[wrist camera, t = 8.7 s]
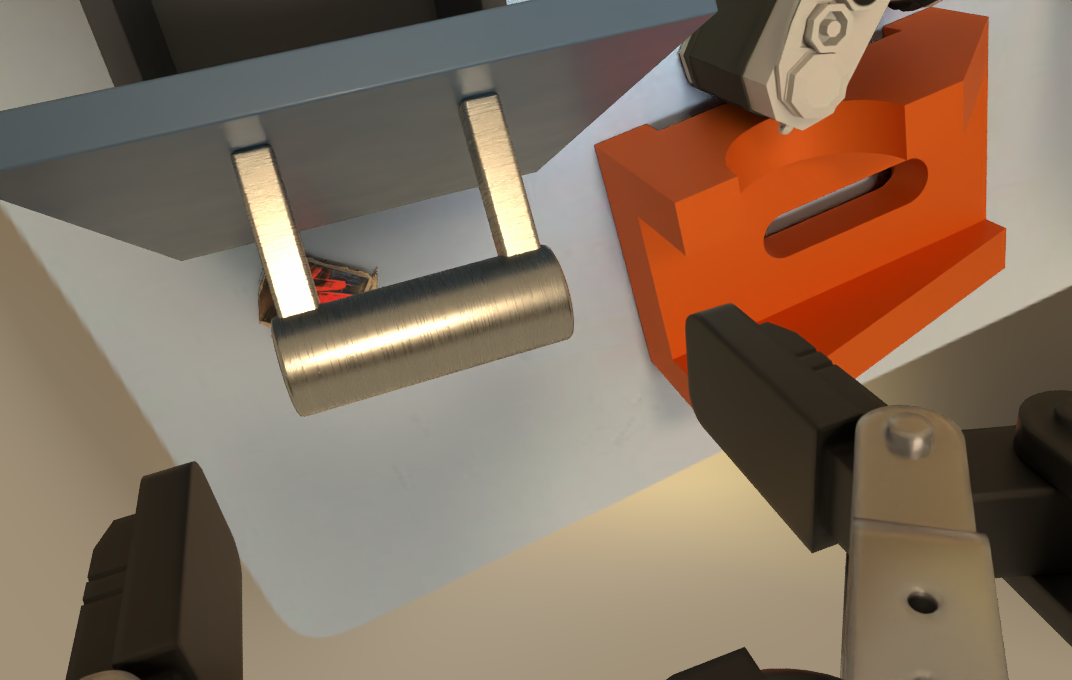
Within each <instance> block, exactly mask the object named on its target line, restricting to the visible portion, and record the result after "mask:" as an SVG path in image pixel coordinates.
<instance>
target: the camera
mask: <svg viewBox="0 0 1072 680" xmlns="http://www.w3.org/2000/svg"><path fill="white" fill-rule="evenodd" d="M940 1H942V0H716V4H717V8H718V11H717V12H716V13H715V14H714V15H713V16H712V17H711V18H710V19H708V20H707V21H706V22H705V23H704V24H703V25H702V26H701V27H699V28H698V29H697V30H696V31H695V32H694V33H693V34H692V35H690V36H689V37H688V38H687V39H686V40H685V41H684V42H683V45H682V47H681V49H680V52H679V54H680V57H681V60H682V63H683V66H684V69H685V72H686V75H687V78H688V81H689V82H691V83H693V86H694V87H695V88H697V89H700V90H702V91H704V92H707V93H709V94H711V95H714V96H716V97H718V98H720V99H723V100H725V101H727V102H730V103H732V104H734V105H736V106H739V107H741V108H743V109H746V110H748V111H750V112H752V113H755V114H757V115H760V116H763V117H767V118H770V119H773V120H776V121H779V129H778V131H779V133H781V134H783V135H788V134H789V133H790V132H791V131H792V130H793V127H794V128H797V129H800V130H805V129H806V128H808V127H810V126H812V125H813V124H815V123H817V122H819V121H820V120H822V119H824V118H825V117H827V116H829V115H831V114H832V113H834V111H835V109H836V107H837V105H838V104H839V103H840V102H841V101H842V100H843V99H844V98H845V94H846V88H847V85H848V83H849V81H850V79H851V77H852V75H853V73H854V71H855V69H856V67H857V65H858V63H859V61H860V59H861V57H862V55H863V53H864V51H865V49H866V47H867V45H868V43H869V41H870V39H871V37H872V35H873V33H874V31H875V29H876V27H877V25H878V24H879V22H880V20H881V18H882V16H883V14H884V12H885V10H886V8H887V6H888V7H889V8H891V9H893V10H898V9H899V10H901V11H903V12H904V11H914V10H916V9H919V8H922V7H931V6H933V5H935V4H936V3H938V2H940Z"/></svg>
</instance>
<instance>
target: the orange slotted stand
mask: <svg viewBox="0 0 1072 680" xmlns="http://www.w3.org/2000/svg"><path fill="white" fill-rule="evenodd" d="M988 23H989V17H987V16H981V15H975V14H969V13H963V12H957V11H951V10H946V9H940V8H934V7H930V8H927V9H925V10H922V11H920V12H917V13H915V14H913V15H910V16H908V17H905V18H903V19H900V20H898V21H895V22H893V23H891V24H888V25H886V26H883V33H884V38H883V39H880V40H878V41H875V42H873V43H871V44H868V45H867V47H866V49H865V51H864V53H863V55H862V57H861V59H860V61H859V63H858V65H857V67H856V69H855V71H854V73H853V75H852V77H851V79H850V81H849V83H848V85H847V88H846V94H845V98H844V99H843V100H842V101H841V102H840V103H839V104H838V105H837V107H836V109H835V111H834V113H832V114H831V115H829V116H827V117H825V118H824V119H822V120H820V121H819V122H817V123H815V124H813V125H812V126H810V127H808V128H806V129H805V130H800V129H797V128H794V127H793V130H792V131H791V132H790V133H789V134H788V135H783V134H781V133H779V131H778V129H779V121H776V120H773V119H770V118H767V117H763V116H760V115H757V114H755V113H752V112H750V111H748V110H746V109H743V108H741V107H739V106H736V105H734V104H732V103H730V102H727V103H725V104H723V105H720V106H718V107H715V108H713V109H710V110H708V111H706V112H703V113H701V114H698V115H696V116H694V117H691V118H689V119H686V120H684V121H681V122H679V123H677V124H674V125H672V126H669V127H667V128H664V129H662V130H660V131H658V130H656V129H655V128H653V127H651V126H649V125H648V124H645V125H642V126H640V127H637V128H635V129H632V130H630V131H628V132H625V133H623V134H620V135H618V136H615V137H613V138H611V139H608V140H606V141H603V142H601V143H598V144H596V145H594V146H595V150H596V153H597V157H598V161H599V165H600V169H601V172H602V176H603V180H604V184H605V187H606V191H607V195H608V199H609V203H610V206H611V210H612V214H613V218H614V222H615V225H616V229H617V233H618V237H619V241H620V244H621V248H622V252H623V256H624V259H625V263H626V267H627V271H628V275H629V278H630V282H631V286H632V290H633V294H634V297H635V301H636V305H637V309H638V313H639V316H640V320H641V324H642V328H643V331H644V335H645V339H646V343H647V347H648V350H649V354H650V358H651V361H652V362H653V364H654V365H655V366H656V367H657V368H658V369H659V370H660V372H661V373H662V374H663V375H664V376H665V377H666V378H667V380H668V381H669V382H670V383H671V384H672V385H673V386H674V388H675V389H676V390H677V391H678V392H679V393H680V394H681V396H682V397H683V398H684V399H685V400H686V401H687V402H688V404H689V405H690V406H691V407H692V404H691V400H690V396H689V387H688V370H687V353H686V335H685V323H686V319H687V317H688V316H689V315H691V314H694V313H697V312H701V311H704V310H707V309H711V308H714V307H717V306H721V305H724V304H727V303H732V304H734V305H736V306H737V307H738V308H740V309H741V310H742V311H743V312H744V313H745V314H747V315H748V316H749V317H750V318H751V319H753V320H754V321H755V322H756V323H757V324H762V323H765V322H770V323H773V324H775V325H778V326H781V327H783V328H786V329H789V330H791V331H794V332H796V333H798V334H799V335H800V336H801V337H803V338H804V339H805V340H806V341H808V342H809V343H810V344H811V345H813V346H814V347H815V348H816V351H817V352H819V351H820V352H822V353H823V354H824V355H825V356H827V357H828V358H829V359H830V360H832V363H833V365H835V364H837V365H838V366H839V367H840V368H842V369H843V370H844V371H845V372H847V373H848V374H849V375H850V376H852V377H853V378H854V379H855V378H857V377H858V376H859V375H861V374H862V373H863V372H865V371H866V370H867V369H869V368H870V367H871V366H873V365H874V364H875V363H877V362H878V361H880V360H881V359H882V358H884V357H885V356H886V355H888V354H889V353H890V352H892V351H893V350H894V349H896V348H897V347H898V346H900V345H901V344H902V343H904V342H905V341H907V340H908V339H909V338H911V337H912V336H913V335H915V334H916V333H917V332H919V331H920V330H921V329H923V328H924V327H925V326H927V325H928V324H930V323H931V322H932V321H934V320H935V319H936V318H938V317H939V316H940V315H942V314H943V313H944V312H946V311H947V310H948V309H950V308H951V307H953V306H954V305H955V304H957V303H958V302H959V301H961V300H962V299H963V298H965V297H966V296H967V295H969V294H970V293H971V292H973V291H974V290H976V289H977V288H978V287H980V286H981V285H982V284H984V283H985V282H986V281H988V280H989V279H990V278H992V277H993V276H994V275H996V274H997V273H998V272H1000V271H1001V270H1003V269H1004V268H1005V251H1006V228H1004V227H1002V226H1000V225H997V224H995V223H993V222H991V221H988V220H986V175H987V99H988ZM889 167H891V178H890V179H889V180H888V182H887V183H886V184H885V185H883V186H882V187H881V188H879V189H877V190H874V191H872V192H870V193H868V194H865V195H863V196H861V197H858V198H856V199H854V200H851V201H849V202H847V203H845V204H842V205H840V206H838V207H835V208H833V209H831V210H828V211H826V212H824V213H822V214H819V215H817V216H815V217H812V218H810V219H808V220H806V221H803V222H801V223H799V224H796V225H794V226H792V227H789V228H787V229H785V230H783V231H780V232H778V233H776V234H773V235H771V236H769V237H766V238H764V236H765V232H766V230H767V228H768V226H769V225H770V223H771V222H772V221H773V220H774V219H775V218H776V217H778V216H779V215H781V214H783V213H786V212H788V211H790V210H792V209H795V208H797V207H799V206H802V205H804V204H806V203H809V202H811V201H813V200H816V199H818V198H820V197H823V196H825V195H827V194H829V193H832V192H834V191H836V190H839V189H841V188H843V187H846V186H848V185H850V184H853V183H855V182H857V181H859V180H862V179H864V178H866V177H869V176H871V175H873V174H876V173H878V172H880V171H883V170H885V169H887V168H889ZM692 408H693V407H692Z"/></svg>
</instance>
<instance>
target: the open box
mask: <svg viewBox="0 0 1072 680" xmlns="http://www.w3.org/2000/svg"><path fill="white" fill-rule="evenodd" d="M80 3H81V5H82V8H83V10H84V13H85V15H86V18H87V20H88V22H89V25H90V27H91V30H92V32H93V35H94V37H95V40H96V42H97V45H98V47H99V50H100V52H101V55H102V57H103V59H104V62H105V64H106V67H107V69H108V72H109V74H110V77H111V79H112V82H113V84H114V87H118V86H123V85H128V84H133V83H137V82H142V81H147V80H152V79H157V78H161V77H166V76H171V75H176V74H180V73H185V72H190V71H195V70H200V69H204V68H209V67H214V66H219V65H223V64H228V63H233V62H238V61H243V60H247V59H252V58H257V57H262V56H266V55H271V54H276V53H281V52H286V51H290V50H295V49H300V48H305V47H309V46H314V45H319V44H324V43H329V42H333V41H338V40H343V39H348V38H352V37H357V36H362V35H367V34H372V33H376V32H381V31H386V30H391V29H395V28H400V27H405V26H410V25H415V24H419V23H424V22H429V21H434V20H438V19H443V18H448V17H453V16H458V15H462V14H467V13H472V12H477V11H481V10H486V9H491V8H496V7H501V6H505V5H507V4H506V0H80Z"/></svg>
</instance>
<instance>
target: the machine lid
mask: <svg viewBox="0 0 1072 680" xmlns="http://www.w3.org/2000/svg"><path fill="white" fill-rule="evenodd" d="M717 11H718V8H717V4H716V0H529V1H524V2H520V3H515V4H510V5H505V6H501V7H496V8H491V9H486V10H481V11H477V12H472V13H467V14H462V15H458V16H453V17H448V18H443V19H438V20H434V21H429V22H424V23H419V24H415V25H410V26H405V27H400V28H395V29H391V30H386V31H381V32H376V33H372V34H367V35H362V36H357V37H352V38H348V39H343V40H338V41H333V42H329V43H324V44H319V45H314V46H309V47H305V48H300V49H295V50H290V51H286V52H281V53H276V54H271V55H266V56H262V57H257V58H252V59H247V60H243V61H238V62H233V63H228V64H223V65H219V66H214V67H209V68H204V69H200V70H195V71H190V72H185V73H180V74H176V75H171V76H166V77H161V78H157V79H152V80H147V81H142V82H137V83H133V84H128V85H123V86H118V87H114V88H109V89H104V90H99V91H94V92H90V93H85V94H80V95H75V96H71V97H66V98H61V99H56V100H51V101H47V102H42V103H37V104H32V105H28V106H23V107H18V108H13V109H8V110H4V111H0V199H1V200H4V201H6V202H9V203H12V204H15V205H18V206H21V207H24V208H27V209H30V210H33V211H36V212H39V213H42V214H45V215H48V216H51V217H54V218H57V219H59V220H62V221H65V222H68V223H71V224H74V225H77V226H80V227H83V228H86V229H89V230H92V231H95V232H98V233H101V234H104V235H107V236H110V237H112V238H115V239H118V240H121V241H124V242H127V243H130V244H133V245H136V246H139V247H142V248H145V249H148V250H151V251H154V252H157V253H160V254H163V255H166V256H168V257H171V258H174V259H177V260H180V261H183V260H187V259H191V258H195V257H199V256H203V255H207V254H211V253H215V252H219V251H223V250H227V249H231V248H235V247H239V246H243V245H247V244H251V243H255V242H256V245H257V248H258V251H259V255H260V258H261V261H262V265H263V268H264V271H265V275H266V278H267V281H268V285H269V288H270V291H271V295H272V298H273V301H274V305H275V308H276V311H277V315H278V316H275V317H274V318H272V320H271V331H272V337H273V342H274V347H275V351H276V355H277V359H278V362H279V366H280V369H281V372H282V376H283V379H284V382H285V385H286V388H287V391H288V393H289V396H290V398H291V401H292V403H293V405H294V407H295V409H296V411H297V412H298V414H299V415H300V416H304V417H305V416H309V415H312V414H316V413H319V412H322V411H326V410H329V409H333V408H336V407H339V406H343V405H346V404H350V403H353V402H356V401H360V400H363V399H367V398H370V397H373V396H377V395H380V394H384V393H387V392H390V391H394V390H397V389H401V388H404V387H407V386H411V385H414V384H417V383H421V382H424V381H428V380H431V379H434V378H438V377H441V376H445V375H448V374H451V373H455V372H458V371H462V370H465V369H468V368H472V367H475V366H479V365H482V364H485V363H489V362H492V361H496V360H499V359H502V358H506V357H509V356H513V355H516V354H519V353H523V352H526V351H530V350H533V349H536V348H540V347H543V346H546V345H550V344H553V343H557V342H560V341H563V340H567V339H569V338H570V337H571V336H572V334H573V329H574V316H573V308H572V302H571V298H570V293H569V290H568V286H567V283H566V280H565V277H564V274H563V271H562V269H561V266H560V264H559V262H558V260H557V258H556V257H555V255H554V253H553V252H552V250H551V249H550V248H549V247H548V246H546V245H540V242H539V239H538V235H537V231H536V228H535V224H534V220H533V217H532V213H531V210H530V206H529V202H528V199H527V195H526V191H525V188H524V184H523V180H522V177H521V175H525V174H529V173H533V172H537V171H538V170H539V169H540V168H541V167H542V166H544V165H545V164H546V163H547V162H548V161H549V160H550V159H551V158H553V157H554V156H555V155H556V154H557V153H558V152H559V151H560V150H562V149H563V148H564V147H565V146H566V145H567V144H568V143H570V142H571V141H572V140H573V139H574V138H575V137H576V136H577V135H579V134H580V133H581V132H582V131H583V130H584V129H585V128H586V127H588V126H589V125H590V124H591V123H592V122H593V121H594V120H596V119H597V118H598V117H599V116H600V115H601V114H602V113H603V112H605V111H606V110H607V109H608V108H609V107H610V106H611V105H612V104H614V103H615V102H616V101H617V100H618V99H619V98H620V97H621V96H623V95H624V94H625V93H626V92H627V91H628V90H629V89H631V88H632V87H633V86H634V85H635V84H636V83H637V82H638V81H640V80H641V79H642V78H643V77H644V76H645V75H646V74H647V73H649V72H650V71H651V70H652V69H653V68H654V67H655V66H657V65H658V64H659V63H660V62H661V61H662V60H663V59H664V58H666V57H667V56H668V55H669V54H670V53H671V52H672V51H673V50H675V49H676V48H677V47H678V46H679V45H680V44H681V43H682V42H684V41H685V40H686V39H687V38H688V37H689V36H690V35H692V34H693V33H694V32H695V31H696V30H697V29H698V28H699V27H701V26H702V25H703V24H704V23H705V22H706V21H707V20H708V19H710V18H711V17H712V16H713V15H714V14H715V13H716V12H717ZM478 186H479V189H480V193H481V196H482V200H483V203H484V207H485V211H486V214H487V218H488V221H489V225H490V229H491V232H492V236H493V239H494V243H495V247H496V250H497V254H498V256H497V257H493V258H490V259H486V260H482V261H479V262H475V263H471V264H467V265H464V266H460V267H456V268H453V269H449V270H445V271H441V272H438V273H434V274H430V275H427V276H423V277H419V278H415V279H412V280H408V281H404V282H401V283H397V284H393V285H390V286H386V287H382V288H378V289H375V290H371V291H367V292H364V293H360V294H356V295H352V296H349V297H345V298H341V299H338V300H334V301H330V302H326V303H323V304H320V301H319V298H318V295H317V291H316V288H315V284H314V281H313V278H312V274H311V271H310V268H309V264H308V261H307V257H306V254H305V251H304V247H303V244H302V241H301V237H300V234H299V231H303V230H306V229H310V228H314V227H318V226H322V225H326V224H330V223H334V222H338V221H342V220H346V219H350V218H354V217H358V216H362V215H366V214H370V213H374V212H378V211H382V210H386V209H390V208H394V207H398V206H402V205H406V204H410V203H414V202H418V201H422V200H426V199H430V198H434V197H438V196H442V195H446V194H450V193H454V192H458V191H462V190H466V189H470V188H474V187H478Z"/></svg>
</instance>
